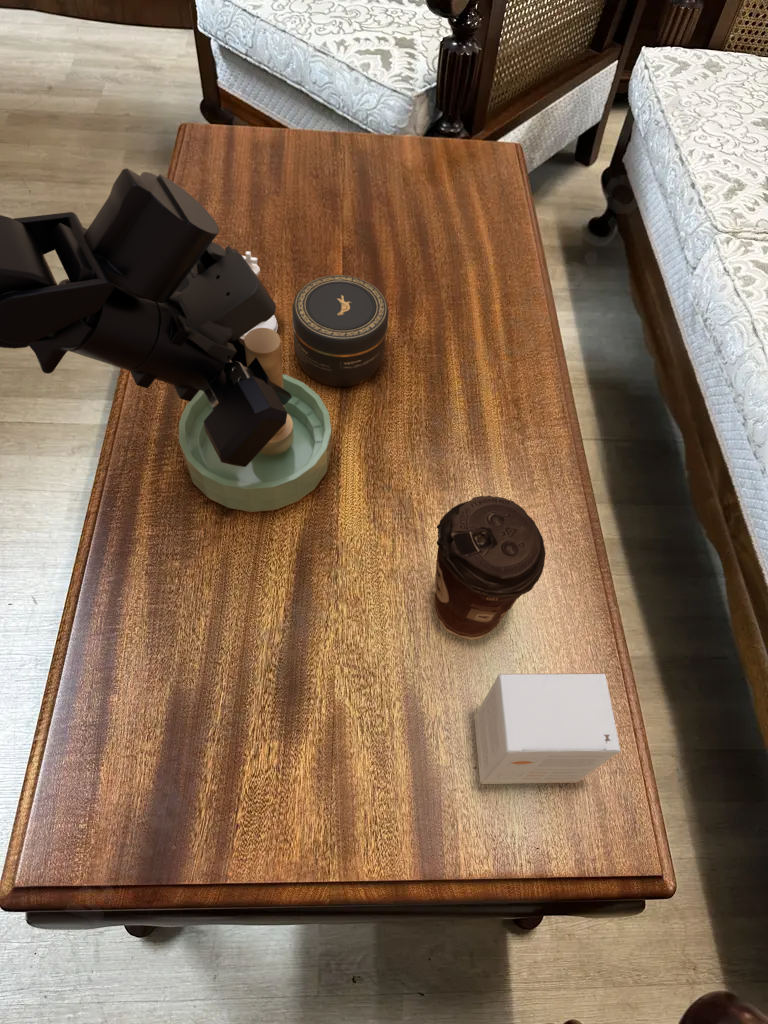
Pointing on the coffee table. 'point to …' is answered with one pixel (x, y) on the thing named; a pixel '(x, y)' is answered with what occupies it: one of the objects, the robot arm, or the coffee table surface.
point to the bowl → (261, 456)
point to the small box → (545, 728)
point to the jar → (339, 329)
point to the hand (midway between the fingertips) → (280, 387)
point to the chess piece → (253, 264)
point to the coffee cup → (484, 564)
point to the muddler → (270, 379)
